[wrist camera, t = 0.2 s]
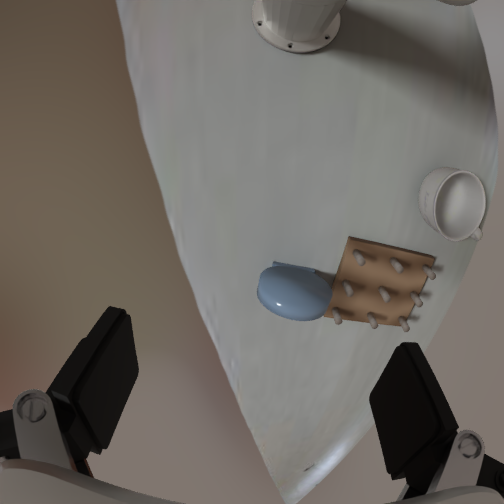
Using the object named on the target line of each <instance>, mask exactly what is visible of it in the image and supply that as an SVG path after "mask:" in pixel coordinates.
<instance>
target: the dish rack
mask: <svg viewBox="0 0 504 504" xmlns="http://www.w3.org/2000/svg"><path fill="white" fill-rule="evenodd" d="M433 262H434V258H433V257H432V256H431V255H428V254H424V253H420V252H416V251H412V250H407V249H403V248H399V247H394V246H390V245H386V244H381V243H377V242H372V241H368V240H363V239H359V238H354V237H350V236H349V237H348V240H347V244H346V247H345V250H344V253H343V256H342V259H341V262H340V265H339V268H338V271H337V274H336V277H335V279H334V282H333V285H332V288H331V289H332V293H333V295H332V299H331V301H330V304H329V307H328V309H327V311H326V313H325V314H324V317H329V318H334V320H335V323H336V324H338V325H339V324H341V323H342V319H343V320H351V321H359V322H367V323H370V324H371V326H372V328H373V329H376V328H377V327H378V324H384V325H393V326H402V328H403V330H404V332H408V331H409V330H410V328H409V326H408V324H407V322H406V320H407V318H408V316H409V314H410V312H411V310H412V308H413V306H414V304H416V305H417V307H421V306H422V305H423V302H422V301H421V299H420V298H419V296H418V295H419V293H420V291H421V289H422V287H423V285H424V283H425V280H426V278H427V276H428V277H429V278H430V279H431V280H434V279H435V278H436V274H435V273H434V272H433V271H432V270H431V267H432V264H433Z"/></svg>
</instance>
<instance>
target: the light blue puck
mask: <svg viewBox="0 0 504 504" xmlns="http://www.w3.org/2000/svg"><path fill="white" fill-rule="evenodd" d="M332 295H333V293H332V289H331V287H330V285H329V284H328V283H327V282H326V281H325V280H324V279H322V278H321V277H320V276H318V275H316V274H315V270H314V269H312V268H306V267H301V266H295V265H290V264H284V263H279V262H273V264H272V267H270V268H267V269H265V270H264V271H263V272H262V273H261V275H260V279H259V284H258V288H257V296H258V299H259V301H260V302H261V303H262V304H263V306H265V307H266V308H267V309H268V310H270V311H271V312H273V313H275V314H277V315H279V316H281V317H284V318H287V319H291V320H297V321H310V320H315V319H318V318H320V317H322V316H323V315H324V314H325V313H326V311H327V309H328V307H329V304H330V301H331V299H332Z"/></svg>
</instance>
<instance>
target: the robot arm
mask: <svg viewBox="0 0 504 504" xmlns="http://www.w3.org/2000/svg"><path fill="white" fill-rule="evenodd" d="M346 1H347V0H255V1H254V4H253V7H252V19H253V23H254V26H255V28H256V30H257V32H258V33H259V34H260V36H261V37H262V38H263V39H264V40H265V41H267V42H268V43H269V44H271V45H273V46H274V47H276V48H279V49H281V50H284V51H288V52H295V53H306V52H312V51H316V50H318V49H321V48H323V47H324V46H326V45H327V44H329V43H330V42H331V41H332V40H333V39H334V37H335V36H336V35H337V33H338V30H339V28H340V22H341V19H340V13H339V11H340V10H341V8H342V7H343V5H344V4H345V3H346ZM437 1H440V2H443V3H445V4H449V5H454V6H464V5H468V4H471V3H473V2H475V1H477V0H437ZM258 24H262V25H261V26H258ZM325 37H327V38H328V40H326V39H325ZM288 46H292V48H289V47H288ZM138 372H139V368H138V361H137V356H136V350H135V344H134V337H133V330H132V323H131V317H130V315H128V314H127V313H126V311H125V310H124V309H121V308H116V307H111V306H109V307H108V308H107V309H106V311H105V312H104V313H103V314H102V316H101V317H100V319H99V320H98V321H97V323H96V324H95V325H94V327H93V328H92V330H91V331H90V332H89V334H88V335H87V337H86V338H83V339H82V340H81V341H80V342H79V344H78V345H77V346H76V348H75V349H74V351H73V352H72V354H71V355H70V357H69V358H68V359H67V361H66V362H65V364H64V365H63V367H62V368H61V370H60V371H59V373H58V374H57V376H56V377H55V379H54V381H53V382H52V384H51V385H50V387H49V388H48V390H47V392H46V393H45V392H43V391H41V390H36V389H33V390H32V389H31V390H27V391H24V392H22V393H21V394H20V395H18V397H17V398H16V399H15V401H14V404H13V409H11V410H7V411H3V412H0V504H184V503H179V502H175V501H170V500H166V499H161V498H157V497H153V496H149V495H146V494H142V493H138V492H135V491H131V490H128V489H125V488H121V487H118V486H114V485H112V484H109V483H106V482H103V481H100V480H98V479H95V478H94V476H93V474H92V472H91V470H90V467H89V464H88V462H87V460H86V458H87V457H88V455H89V452H90V451H91V452H94V453H96V454H99V455H100V454H101V452H102V449H107V448H108V446H109V444H110V441H111V438H112V436H113V433H114V431H115V429H116V426H117V424H118V421H119V419H120V416H121V414H122V412H123V409H124V407H125V404H126V402H127V400H128V397H129V395H130V393H131V390H132V388H133V386H134V384H135V381H136V379H137V377H138ZM369 401H370V405H371V409H372V413H373V417H374V420H375V424H376V428H377V432H378V436H379V440H380V444H381V448H382V452H383V456H384V461H385V465H386V470H387V472H388V473H389V474H391V478H392V480H397V479H402V478H406V482H407V483H406V485H405V486H404V488H403V490H402V492H401V494H400V495H399V497H398V499H397V501H396V502H391V503H386V504H504V464H503V463H500V462H499V461H497V460H495V459H493V458H491V457H489V456H488V455H486V454H484V452H485V446H484V442H483V440H482V438H481V437H480V436H479V435H478V434H477V433H475V432H474V431H471V430H463V431H460V432H459V433H457V431H456V430H457V429H458V428H459V426H458V424H457V422H456V420H455V417H454V415H453V413H452V411H451V409H450V406H449V404H448V402H447V400H446V398H445V396H444V394H443V391H442V389H441V387H440V385H439V383H438V381H437V379H436V377H435V375H434V373H433V371H432V369H431V367H430V365H429V363H428V361H427V360H426V358H425V356H424V354H423V352H422V350H421V348H420V346H419V345H418V343H416V342H403V343H401V344H400V346H397V347H396V349H395V350H394V352H393V354H392V356H391V358H390V360H389V362H388V364H387V365H386V367H385V369H384V371H383V373H382V374H381V376H380V378H379V380H378V381H377V383H376V385H375V386H374V388H373V390H372V392H371V393H370V397H369Z"/></svg>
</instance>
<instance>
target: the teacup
mask: <svg viewBox="0 0 504 504" xmlns="http://www.w3.org/2000/svg"><path fill="white" fill-rule="evenodd" d="M418 203H419V209H420V212H421V214H422V216H423V218H424V220H425V221H426V222H427V223H428V224H429V225H430V226H431V227H432V228H433V229H434V230H436V231H437V232H439V233H440V234H441V235H442V236H443V237H444V238H446V239H448V240H450V241H461V240H464V239H466V238H468V237H469V236H471V237H472V238H473V239H474V240H476V241H479V240H480V239H481V238H482V236H483V233H482V231H481V230H480V228H479V225H480V223H481V221H482V218H483V216H484V212H485V206H486V197H485V191H484V188H483V185H482V183H481V181H480V180H479V178H478V177H477V176H476V175H475V174H473V173H472V172H470V171H466V170H459V169H455V168H449V167H442V168H438V169H435V170H434V171H432V172H430V173H429V174H428V175H427V176H426V178H425V179H424V181H423V182H422V184H421V187H420V190H419V196H418Z"/></svg>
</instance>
